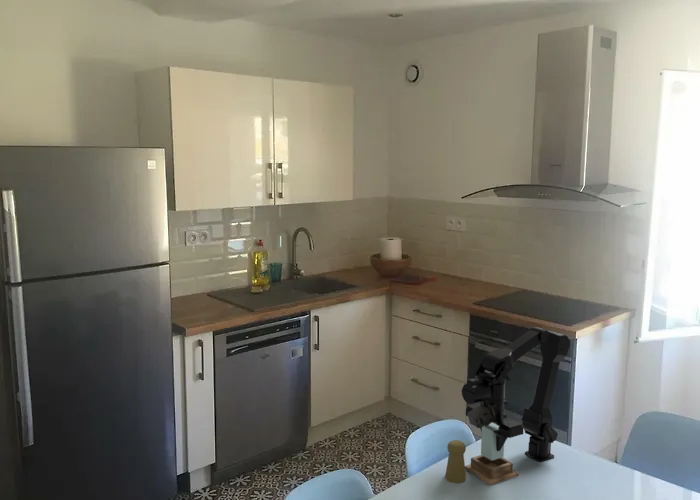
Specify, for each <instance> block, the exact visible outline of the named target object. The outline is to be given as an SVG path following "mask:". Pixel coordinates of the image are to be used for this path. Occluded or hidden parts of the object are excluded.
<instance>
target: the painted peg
mask: <svg viewBox="0 0 700 500" xmlns="http://www.w3.org/2000/svg"><path fill="white" fill-rule="evenodd" d="M498 428H499V426H498V425H495V424H493V423H491V424H489V425H488V426H485V425H484V426H483V427H482V432H481V442H480V444H481V445H480V449H481V450H480V455H483V456H485V457H486V458H488V459H490V460H491V461H492V460H496V459H499V458H502V457H503V458H505V457H504V455H505V454H504V453H505V444H504V445H503V447H502V448H501V450H500V451H497V449H496V434H495V433H494V432H493V431H495V430H498Z"/></svg>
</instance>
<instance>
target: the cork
mask: <svg viewBox="0 0 700 500" xmlns="http://www.w3.org/2000/svg"><path fill="white" fill-rule="evenodd" d="M446 448H447V452H448V457H447V458H448V459H447V463H446V470H445V476H444V479H445V480H446V481H447V482H449V483H453V484H462V483H465V482H466V480H467V475H466V469H465V466H466V465H465V456H464V455H465V453H466V449H467V448H466V444H465V443H464V442H463V441H462V440H458V439H453V440H451V441H450V440H449V442H448V443H447V446H446Z"/></svg>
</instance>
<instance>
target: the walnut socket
mask: <svg viewBox="0 0 700 500" xmlns="http://www.w3.org/2000/svg"><path fill="white" fill-rule="evenodd" d="M466 470H467V471H468V472H469V473H471V474H472V475H474V476H476V477H477V478H479V479H480V480H482V481H483V482H485V483H486V484H488V485H489V486H492V485H495V484H498V483H501V482H504V481H506V480H507V481H508V480H510V479H513V478H517V477H519V472H518V471H516V470H514V463H513V462H512V461H510V460H508V459H506V458H505V457H502V458H499V459H496V460H492V461H491V460H490V459H488V458H486V457H485V456H483V455H481V454H480V455H477V456H474V457H471V458H470V464H467V465H465V471H466Z"/></svg>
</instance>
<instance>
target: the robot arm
mask: <svg viewBox="0 0 700 500" xmlns="http://www.w3.org/2000/svg"><path fill="white" fill-rule="evenodd" d="M570 345H571V340H570V339H569V337H568V336H567V334H562V333H558V332H556V331H552V330H546V329H544V328H541V327H537V326H532V327H530V328H529V329H528V331H526V332H525V333H524V334H522V335H521V336H519V337H517V339H515V340H513V342H511V343H509V344H508V345H506V346H505V347H503V348H498V349H494V350H492V351H489V352H487V353H485V354H484V355H483V356H482V360H481V362H480V363H479V365H478V367H477V369H476V370H475V372H474V374H473V376H474V377H475V378H468V379H467V380H466V383H464V384H463V386H462V388H461V396H462V398H463V400H464V402H465V403H467V404H468V406H467V407H466V409H465V416H466V417H467V418H468V422H469V425H472V426H474V427H475V428H477V429H480V432H481V433H482V427H483V426H484V425H485V426H488V425H489V424H491V423H493V424H495V425H498V426H499V428H498V430H495V431H493V432H494V433H495V434H496V449H497V451H500V450H501V448H502V447H503V445H504V446H505V443H506V441H507V440H508V439H511V438H514V437H517V436H522V435H524V433H525V434H526V435H529V441H528V448H527V450H526V451H524V453H525V455H527V456H529V457H530V458H532V459H534V460H536V461H537V462H544V461H546V460H550V459H553V458H555V455H554V454H552V453H551V451H552V449H551V448H552V447H551V446H552V444H553V443H554V442H555V441H556V440H557V438H558V435H559V434H558V432H557V431H556V430H555V429H554V428H553V426H552V423H553V416H552V414H551V410H550V405H551V401H552V397H553V392H554V388H555V384H556V379H557V374H558V370H559V366H560V363H561V362H562V361H563V360H564V359H565V358H566V357H567V355H568V353H569V350H570ZM538 346H539V351H540V354H541V357H542V361H541V365H540V369H539V374H538V378H537V383H536V387H535V393H534V397H533V400H532V404H531V405H530V406H528V407H525V408H524V409H523V413H522V414H523V415H522V418H520V419H521V421H522V423H520V422H517V421H515V420H514V419H512V420H509V421H505V420H504V419H507V418H508V414H507V413H505V406H507V405H508V400H506V399H505V398H506V396H505V394H506V383H507V382H509V381H510V382H511V379H512V378H511V377H510V376H509V375H508V374H509V373H510V372H511V371H512V370H513V369H514V366H515V363H516V362H517V361H519V360H520V359H521V358H522V357H524V356H525V355H526V354H528V353H529V352H531V351H532V350H533V349H535V348H536V347H538ZM488 373H489V374H488ZM490 374H491V375H490Z"/></svg>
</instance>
